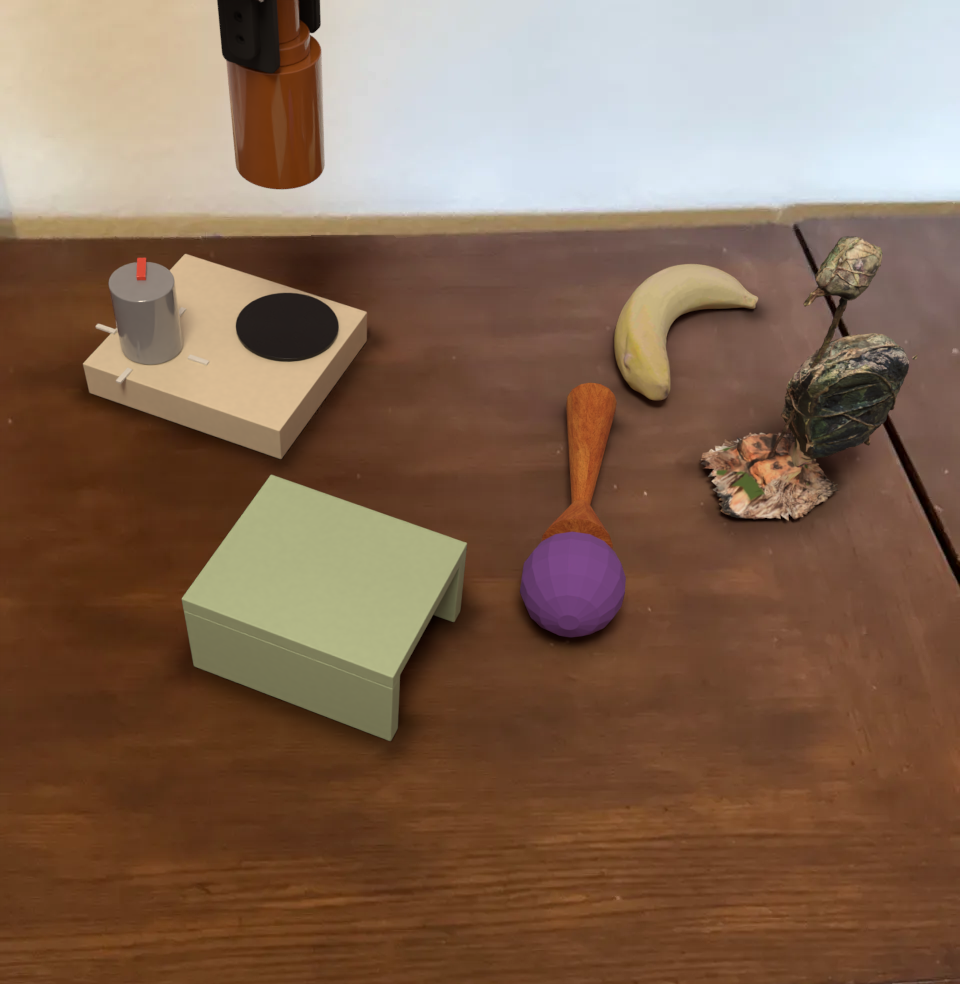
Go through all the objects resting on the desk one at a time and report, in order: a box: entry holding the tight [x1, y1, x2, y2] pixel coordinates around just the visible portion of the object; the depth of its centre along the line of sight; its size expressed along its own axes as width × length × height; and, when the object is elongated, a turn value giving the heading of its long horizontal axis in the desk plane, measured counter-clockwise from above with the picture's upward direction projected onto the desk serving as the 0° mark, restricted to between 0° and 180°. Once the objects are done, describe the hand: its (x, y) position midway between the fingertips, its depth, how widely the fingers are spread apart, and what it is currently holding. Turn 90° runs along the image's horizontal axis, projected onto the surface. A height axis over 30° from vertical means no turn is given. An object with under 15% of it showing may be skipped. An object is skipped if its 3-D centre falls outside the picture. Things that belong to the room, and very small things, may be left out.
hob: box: [82, 253, 368, 460], centre depth 84 cm, size 15×14×3 cm
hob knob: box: [107, 257, 183, 365], centre depth 80 cm, size 4×4×5 cm
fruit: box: [613, 263, 759, 401], centre depth 89 cm, size 7×15×3 cm, turn 146°
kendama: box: [519, 382, 627, 638], centre depth 76 cm, size 6×6×20 cm
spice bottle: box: [225, 0, 326, 190], centre depth 69 cm, size 5×5×13 cm
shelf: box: [181, 474, 468, 742], centre depth 69 cm, size 12×10×6 cm
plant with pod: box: [699, 235, 918, 522], centre depth 74 cm, size 8×11×20 cm
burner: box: [236, 293, 339, 362], centre depth 84 cm, size 7×7×1 cm
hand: (272, 41), depth 68 cm, fingers closed on spice bottle, 4 cm apart
